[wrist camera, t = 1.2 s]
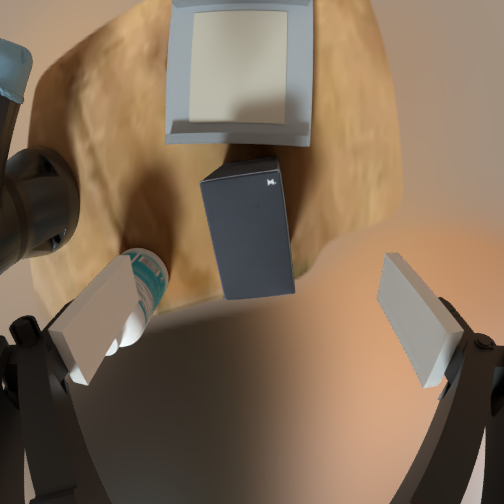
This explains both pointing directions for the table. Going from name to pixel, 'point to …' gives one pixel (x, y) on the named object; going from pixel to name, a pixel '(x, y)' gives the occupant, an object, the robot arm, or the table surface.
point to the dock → (240, 72)
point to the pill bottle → (142, 295)
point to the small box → (249, 228)
